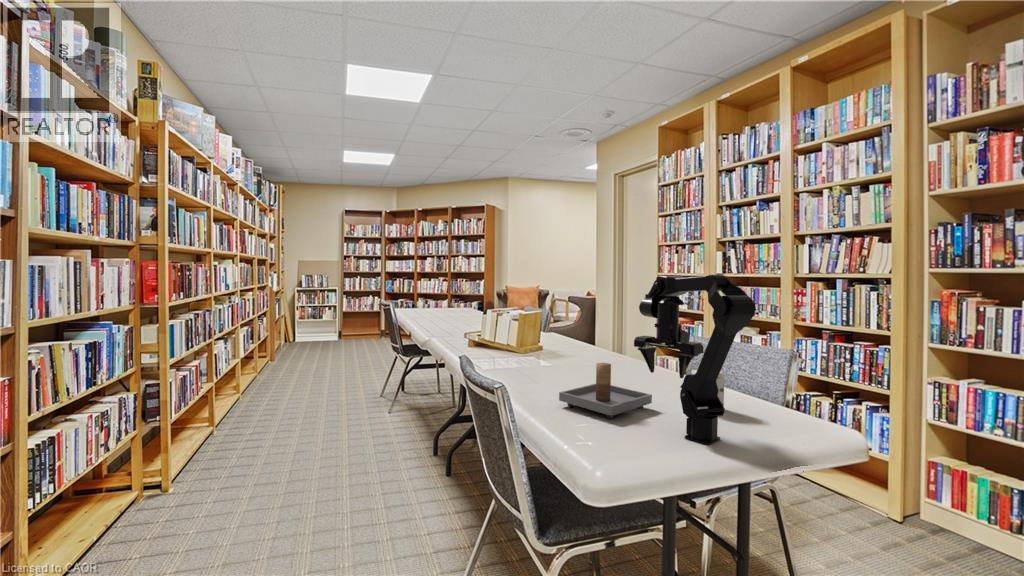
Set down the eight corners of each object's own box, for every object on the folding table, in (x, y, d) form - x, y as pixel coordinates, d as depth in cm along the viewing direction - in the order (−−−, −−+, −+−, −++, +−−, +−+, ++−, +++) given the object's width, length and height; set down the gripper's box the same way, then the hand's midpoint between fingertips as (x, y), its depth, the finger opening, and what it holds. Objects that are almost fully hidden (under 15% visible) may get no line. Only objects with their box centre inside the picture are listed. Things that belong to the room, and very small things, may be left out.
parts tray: (651, 408, 148) (651, 394, 148) (611, 422, 135) (611, 406, 134) (599, 395, 163) (599, 382, 163) (559, 406, 150) (559, 392, 149)
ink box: (718, 407, 150) (719, 370, 150) (723, 412, 145) (725, 373, 145) (689, 406, 151) (690, 369, 150) (694, 411, 146) (695, 372, 146)
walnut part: (612, 401, 146) (613, 365, 146) (598, 402, 145) (599, 365, 145) (607, 397, 150) (608, 362, 150) (593, 398, 150) (594, 363, 149)
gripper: (713, 321, 133) (712, 377, 134) (654, 315, 147) (653, 366, 148) (693, 324, 126) (692, 383, 127) (633, 318, 140) (632, 371, 141)
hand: (666, 375), depth 136 cm, fingers open, 9 cm apart
